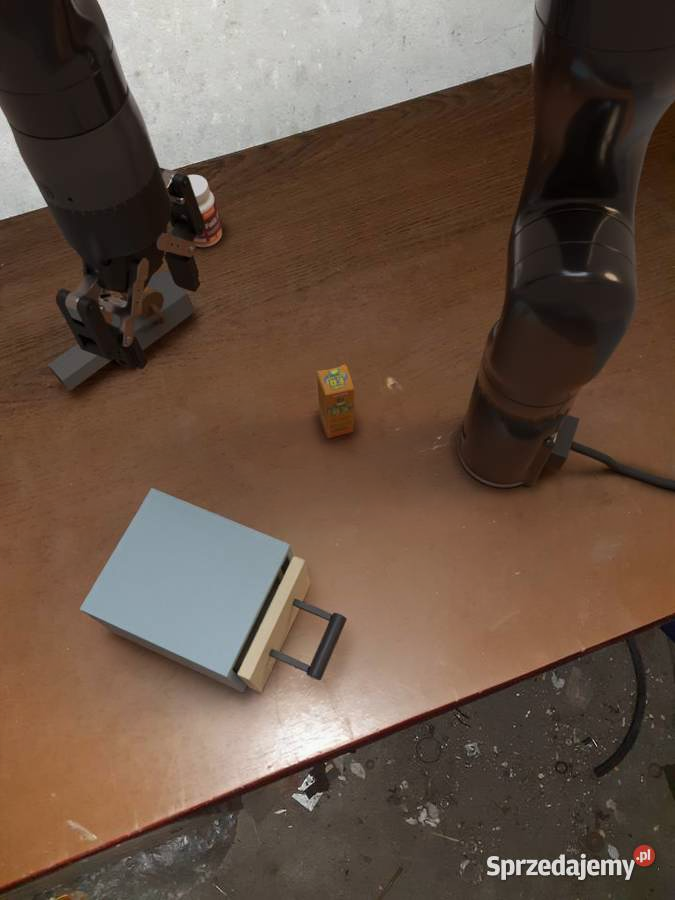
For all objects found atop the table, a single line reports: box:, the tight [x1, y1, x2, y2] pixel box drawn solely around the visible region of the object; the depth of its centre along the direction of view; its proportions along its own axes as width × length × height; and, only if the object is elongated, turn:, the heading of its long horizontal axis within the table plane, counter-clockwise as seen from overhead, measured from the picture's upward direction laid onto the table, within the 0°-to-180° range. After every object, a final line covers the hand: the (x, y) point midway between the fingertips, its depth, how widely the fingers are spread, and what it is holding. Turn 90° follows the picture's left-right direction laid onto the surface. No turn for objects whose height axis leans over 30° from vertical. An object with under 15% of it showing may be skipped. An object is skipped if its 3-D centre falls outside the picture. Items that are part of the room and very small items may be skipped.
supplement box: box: [315, 364, 355, 439], centre depth 75 cm, size 3×3×10 cm
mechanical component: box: [47, 269, 196, 392], centre depth 80 cm, size 10×18×10 cm, turn 135°
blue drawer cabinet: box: [79, 487, 294, 694], centre depth 66 cm, size 15×13×10 cm
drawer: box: [232, 555, 347, 694], centre depth 65 cm, size 19×11×8 cm, turn 67°
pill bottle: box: [184, 174, 223, 248], centre depth 89 cm, size 5×5×8 cm
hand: (162, 323), depth 58 cm, fingers open, 8 cm apart
